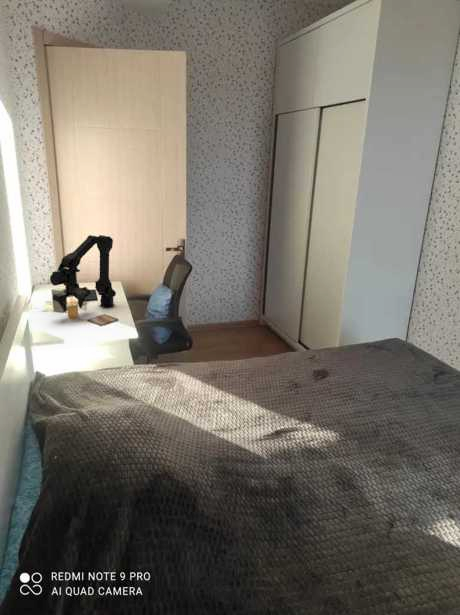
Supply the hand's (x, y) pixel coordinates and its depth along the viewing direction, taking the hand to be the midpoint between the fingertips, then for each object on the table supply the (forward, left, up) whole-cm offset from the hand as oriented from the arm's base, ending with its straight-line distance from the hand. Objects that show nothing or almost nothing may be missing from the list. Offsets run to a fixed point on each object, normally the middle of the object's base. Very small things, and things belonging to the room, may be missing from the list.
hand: (72, 310), depth 237 cm
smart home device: (-29, -24, -4) cm, 38 cm away
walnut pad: (-7, +15, -4) cm, 17 cm away
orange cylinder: (0, 0, -4) cm, 4 cm away
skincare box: (-2, -14, -4) cm, 15 cm away
